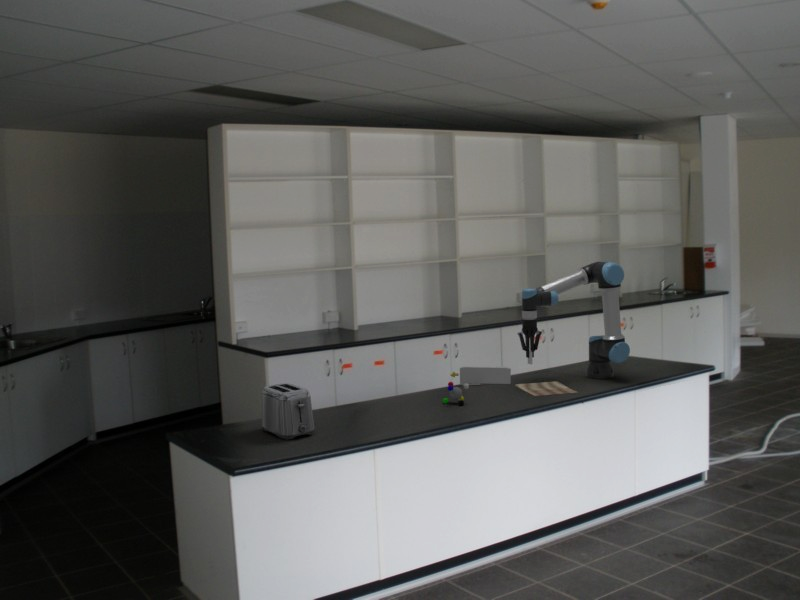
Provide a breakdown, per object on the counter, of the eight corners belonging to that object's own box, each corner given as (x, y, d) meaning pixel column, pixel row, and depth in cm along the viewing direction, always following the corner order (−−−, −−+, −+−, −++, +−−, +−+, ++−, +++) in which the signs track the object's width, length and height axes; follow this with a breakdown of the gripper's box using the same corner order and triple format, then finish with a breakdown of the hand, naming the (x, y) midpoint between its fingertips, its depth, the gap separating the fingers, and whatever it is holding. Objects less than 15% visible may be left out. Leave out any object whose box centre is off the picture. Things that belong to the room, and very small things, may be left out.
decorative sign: (510, 385, 409) (510, 366, 408) (510, 386, 405) (510, 368, 404) (451, 383, 415) (450, 365, 414) (450, 385, 411) (449, 367, 410)
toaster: (284, 443, 308) (283, 396, 306) (253, 427, 332) (251, 384, 330) (321, 435, 317) (319, 390, 315) (288, 421, 341) (286, 379, 339)
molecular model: (472, 402, 372) (472, 382, 371) (459, 407, 361) (459, 387, 360) (452, 399, 378) (452, 380, 377) (439, 404, 368) (438, 384, 367)
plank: (557, 383, 406) (557, 381, 406) (569, 390, 393) (569, 388, 393) (515, 386, 401) (515, 384, 400) (526, 393, 387) (526, 391, 387)
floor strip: (569, 390, 393) (569, 388, 392) (578, 394, 383) (578, 392, 383) (526, 393, 387) (526, 391, 387) (534, 398, 377) (534, 395, 377)
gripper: (538, 317, 399) (538, 361, 401) (514, 318, 396) (515, 363, 398) (544, 318, 391) (544, 364, 394) (520, 320, 388) (521, 366, 391)
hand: (530, 363), depth 396 cm, fingers closed
